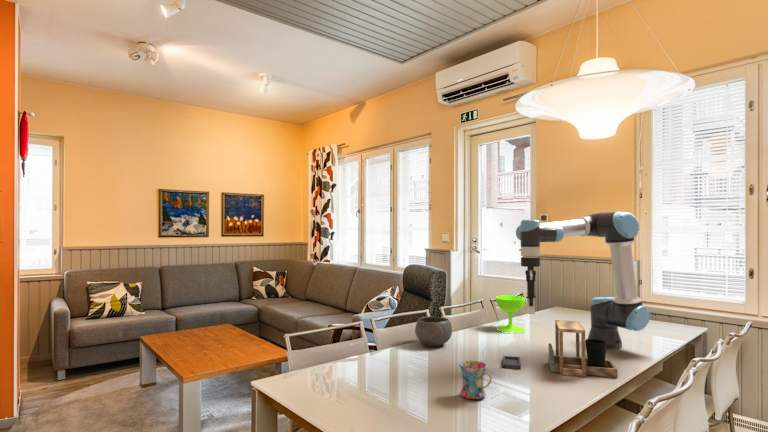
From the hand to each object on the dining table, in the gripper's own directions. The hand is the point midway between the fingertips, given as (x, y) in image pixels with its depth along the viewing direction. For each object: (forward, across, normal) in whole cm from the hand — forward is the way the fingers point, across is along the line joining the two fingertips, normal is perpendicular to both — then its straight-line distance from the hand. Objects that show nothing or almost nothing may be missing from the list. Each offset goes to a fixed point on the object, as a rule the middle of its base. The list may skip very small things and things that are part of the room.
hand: (531, 313), depth 178 cm
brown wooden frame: (+22, 0, +14) cm, 26 cm away
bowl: (+22, -20, -44) cm, 53 cm away
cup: (+22, 0, +24) cm, 33 cm away
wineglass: (+22, -62, -8) cm, 66 cm away
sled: (+21, 0, +19) cm, 28 cm away
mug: (+21, +40, -20) cm, 50 cm away
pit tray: (+21, 0, -8) cm, 23 cm away
